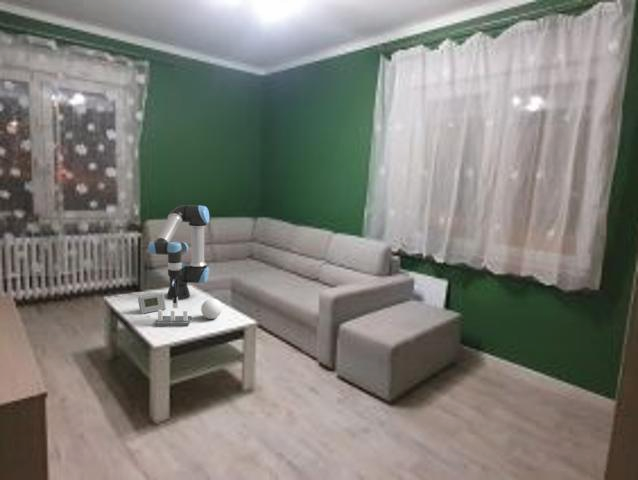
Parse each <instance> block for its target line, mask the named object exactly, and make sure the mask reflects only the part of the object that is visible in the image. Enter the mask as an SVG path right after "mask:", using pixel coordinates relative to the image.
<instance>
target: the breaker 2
mask: <svg viewBox="0 0 638 480" xmlns="http://www.w3.org/2000/svg"><path fill="white" fill-rule="evenodd" d="M188 311H189V310H188V309H183V311H182V312H183V313H182V316H183V321H187V320H188V316H189V315H188V313H189V312H188Z"/></svg>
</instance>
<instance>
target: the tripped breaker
mask: <svg viewBox="0 0 638 480" xmlns="http://www.w3.org/2000/svg"><path fill="white" fill-rule="evenodd" d="M170 316H171V321H175V316H176V309H170Z"/></svg>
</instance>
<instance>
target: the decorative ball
mask: <svg viewBox="0 0 638 480" xmlns="http://www.w3.org/2000/svg"><path fill="white" fill-rule="evenodd" d="M200 308H201V309H200V311H201V314H202V315H203V317H204V318H206V319H208V320H209V319H210V320H214V319H216V318H218V317H219V316H220V315H221V313H222V310H223V309H222V303H221V302H220V301H219V300H218V299H216V298H208V299H206V300H205V301H204V302H203V303H202V305H201V307H200Z"/></svg>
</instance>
